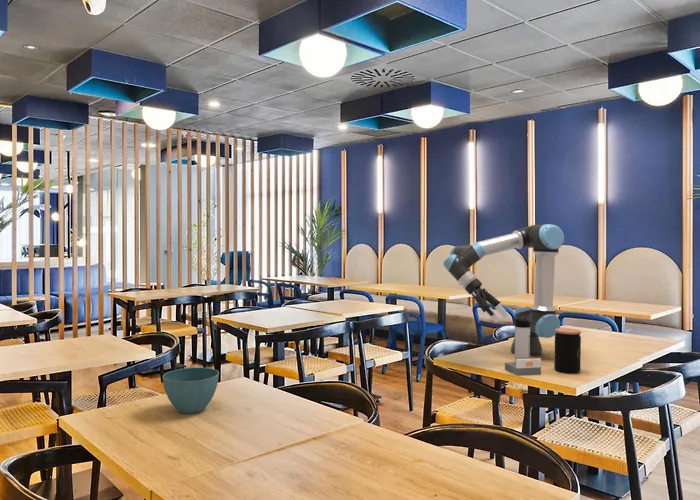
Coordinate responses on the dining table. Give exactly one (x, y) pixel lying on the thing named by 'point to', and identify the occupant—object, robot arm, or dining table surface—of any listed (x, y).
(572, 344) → the coffee jar
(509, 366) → the display riser
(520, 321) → the travel mug
